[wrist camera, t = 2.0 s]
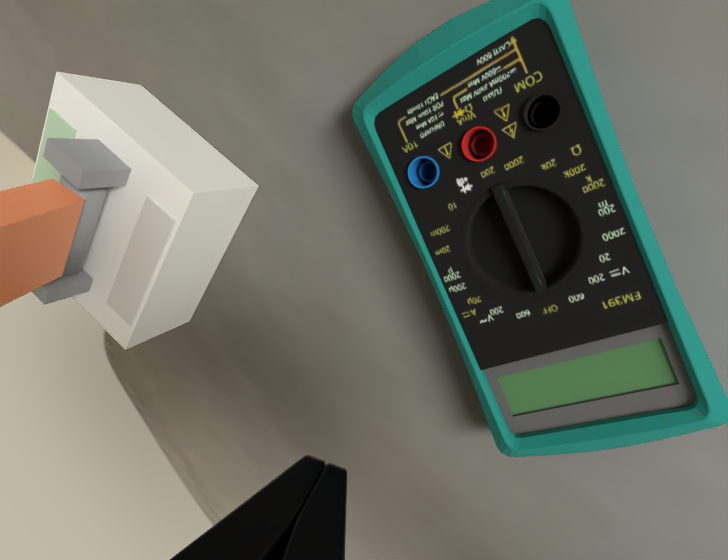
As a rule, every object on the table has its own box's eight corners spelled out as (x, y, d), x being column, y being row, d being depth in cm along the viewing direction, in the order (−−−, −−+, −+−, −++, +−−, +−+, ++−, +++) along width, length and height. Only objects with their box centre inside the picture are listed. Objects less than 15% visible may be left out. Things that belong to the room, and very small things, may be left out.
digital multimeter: (553, -20, 14) (550, -59, 12) (717, 393, 15) (748, 442, 13) (366, 99, 18) (331, 90, 15) (510, 429, 19) (501, 474, 16)
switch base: (258, 185, 20) (149, 197, 15) (189, 321, 24) (84, 368, 19) (140, 84, 21) (0, 62, 16) (93, 229, 25) (-31, 249, 20)
